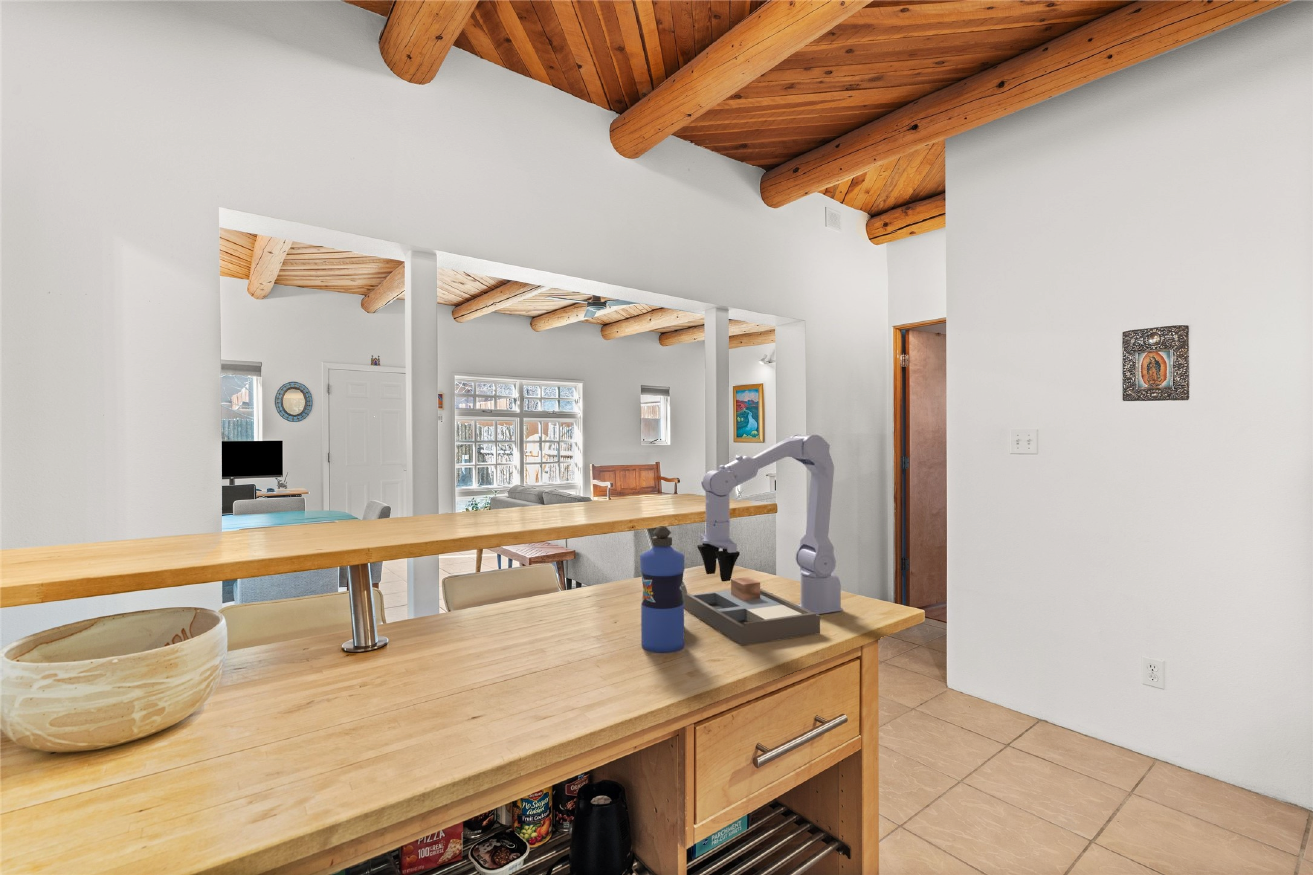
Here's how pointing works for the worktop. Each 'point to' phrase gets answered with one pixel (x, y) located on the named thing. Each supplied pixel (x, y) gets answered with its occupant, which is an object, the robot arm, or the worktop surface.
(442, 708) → the worktop surface
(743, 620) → the box
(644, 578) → the water bottle
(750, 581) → the block
